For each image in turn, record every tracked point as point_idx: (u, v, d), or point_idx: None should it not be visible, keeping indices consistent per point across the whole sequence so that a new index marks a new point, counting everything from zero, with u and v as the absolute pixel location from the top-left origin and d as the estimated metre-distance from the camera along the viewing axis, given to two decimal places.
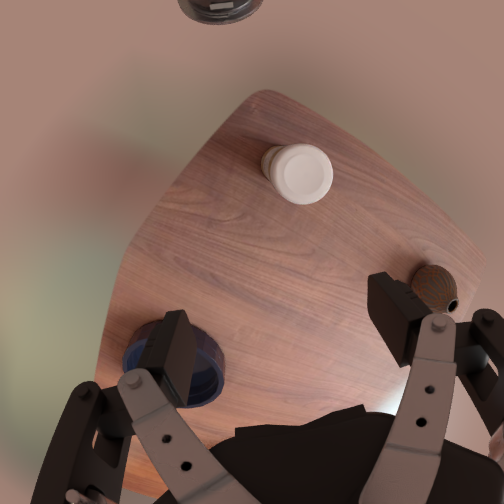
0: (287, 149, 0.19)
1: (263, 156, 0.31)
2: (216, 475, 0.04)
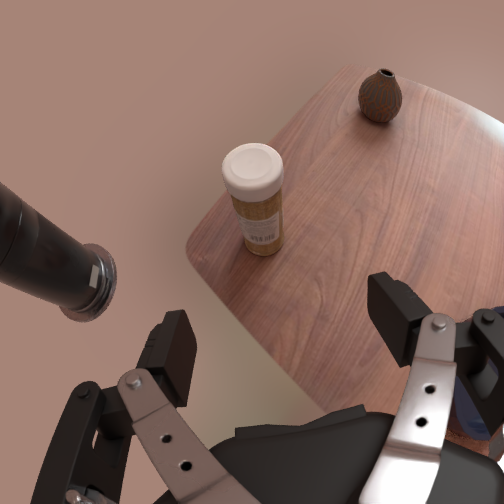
0: (224, 177, 0.20)
1: (253, 251, 0.31)
2: (216, 475, 0.04)
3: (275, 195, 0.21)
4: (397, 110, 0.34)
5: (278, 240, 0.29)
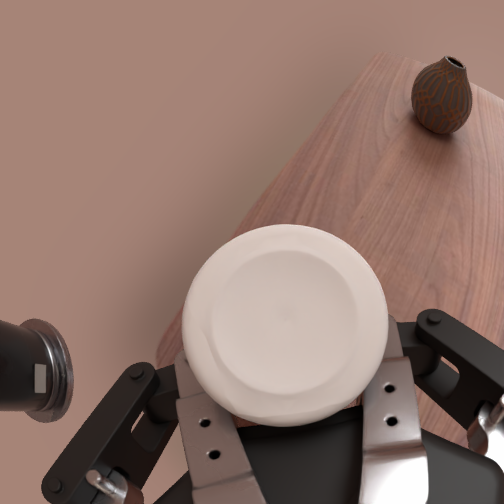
0: (193, 370, 0.05)
1: None
2: (240, 471, 0.04)
3: None
4: (467, 118, 0.19)
5: None
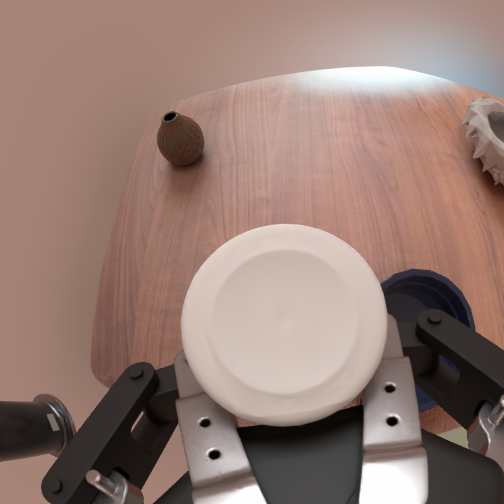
0: (192, 369, 0.05)
1: None
2: (240, 471, 0.04)
3: None
4: (199, 143, 0.38)
5: None
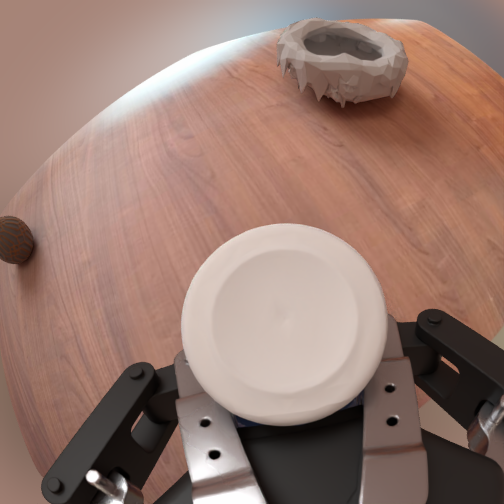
0: (192, 369, 0.05)
1: None
2: (239, 471, 0.04)
3: None
4: (23, 235, 0.30)
5: None
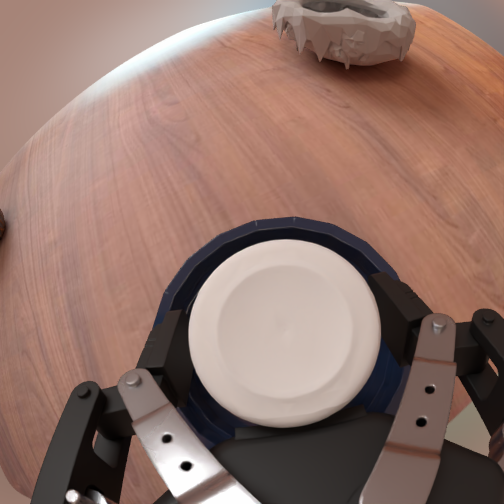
0: (200, 376, 0.06)
1: None
2: (216, 475, 0.04)
3: None
4: None
5: None
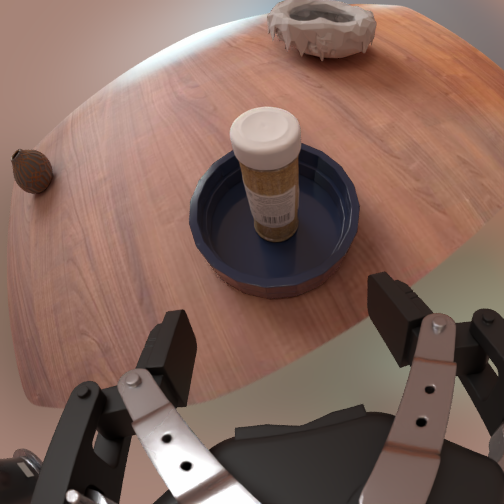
0: (234, 141, 0.16)
1: (265, 237, 0.28)
2: (216, 475, 0.04)
3: (292, 163, 0.18)
4: (45, 165, 0.35)
5: (293, 223, 0.26)
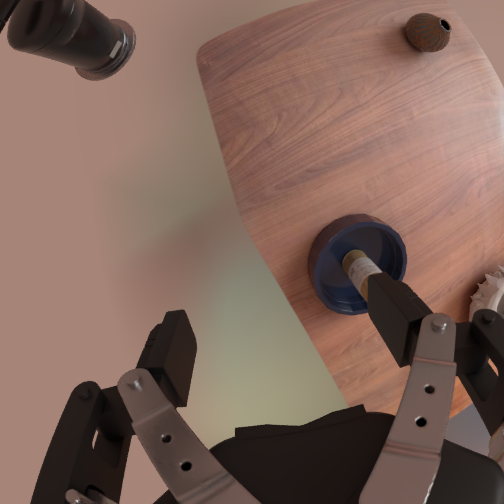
0: None
1: (345, 257, 0.43)
2: (216, 475, 0.04)
3: None
4: (432, 50, 0.27)
5: None
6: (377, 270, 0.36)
